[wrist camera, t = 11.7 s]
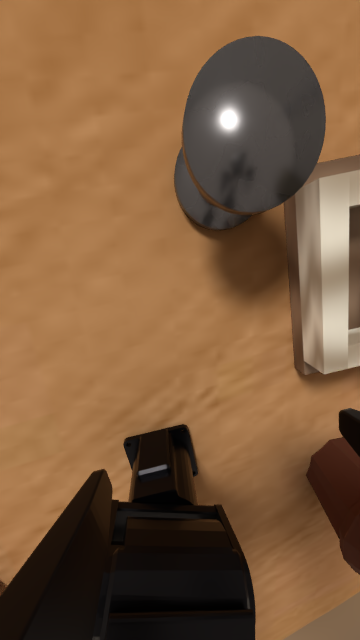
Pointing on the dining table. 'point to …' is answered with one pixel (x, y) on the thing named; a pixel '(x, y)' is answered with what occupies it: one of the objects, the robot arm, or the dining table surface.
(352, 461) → the muffin
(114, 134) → the dining table surface
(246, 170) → the bobbin
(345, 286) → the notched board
